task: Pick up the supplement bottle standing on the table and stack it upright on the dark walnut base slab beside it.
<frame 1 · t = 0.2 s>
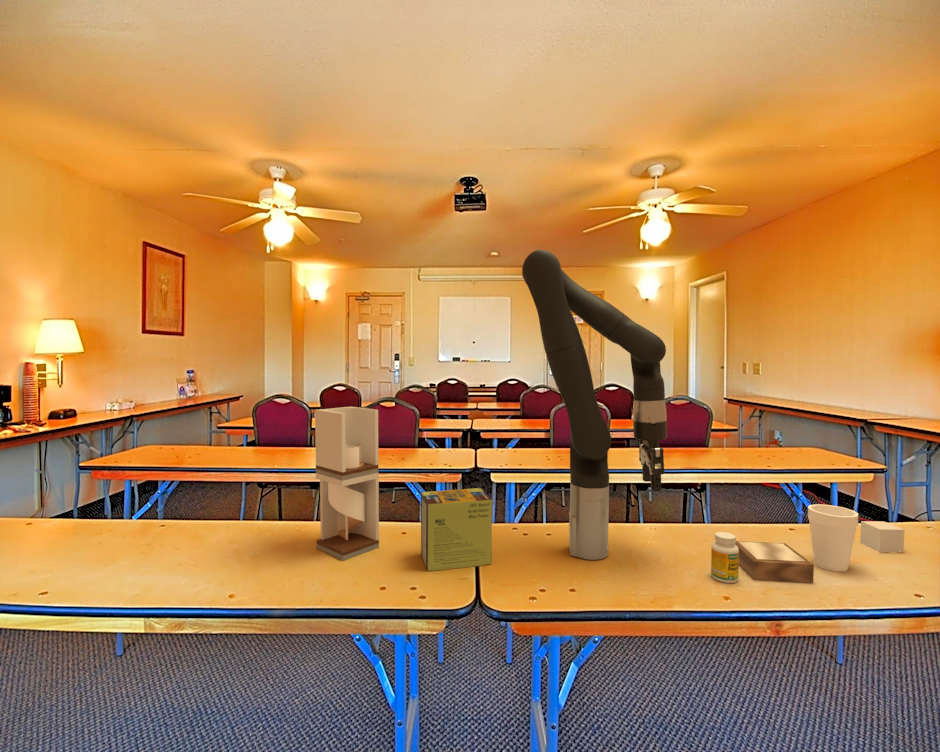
hand: (651, 485, 117), 17 cm above the table, tool pointing down, fingers open, 8 cm apart
protein box: (455, 560, 117), on the table
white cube: (881, 549, 124), on the table
foam cup: (830, 566, 114), on the table
beige cubby shelf tower: (347, 548, 123), on the table
base slab: (769, 569, 112), on the table
supplement bottle: (724, 579, 107), on the table
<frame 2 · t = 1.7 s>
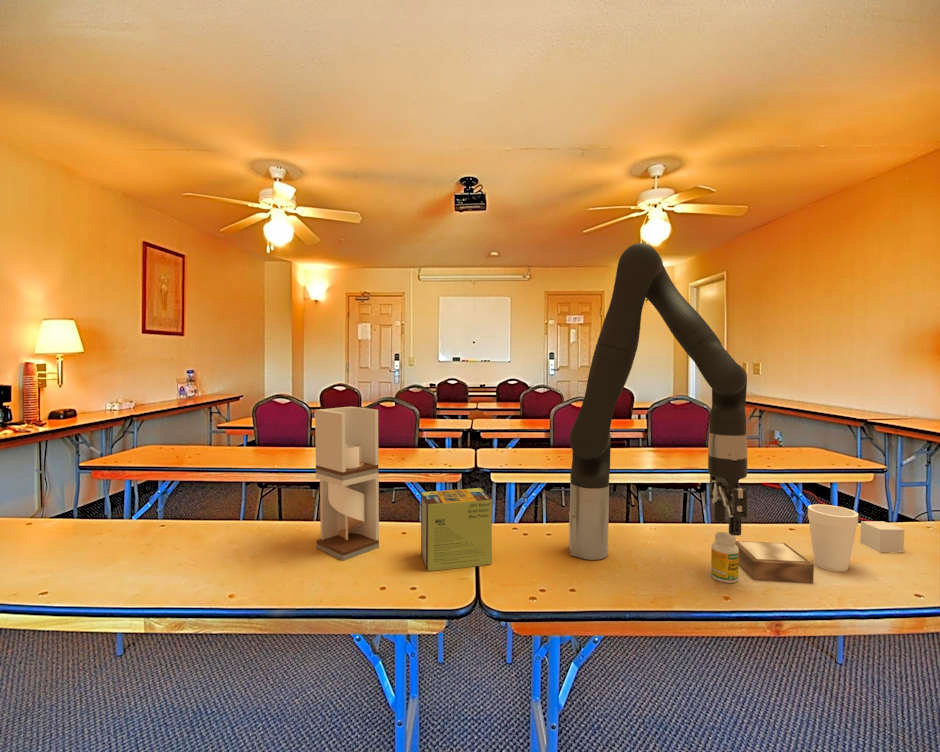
hand: (726, 527, 107), 11 cm above the table, tool pointing down, fingers open, 8 cm apart
nothing on the table moved.
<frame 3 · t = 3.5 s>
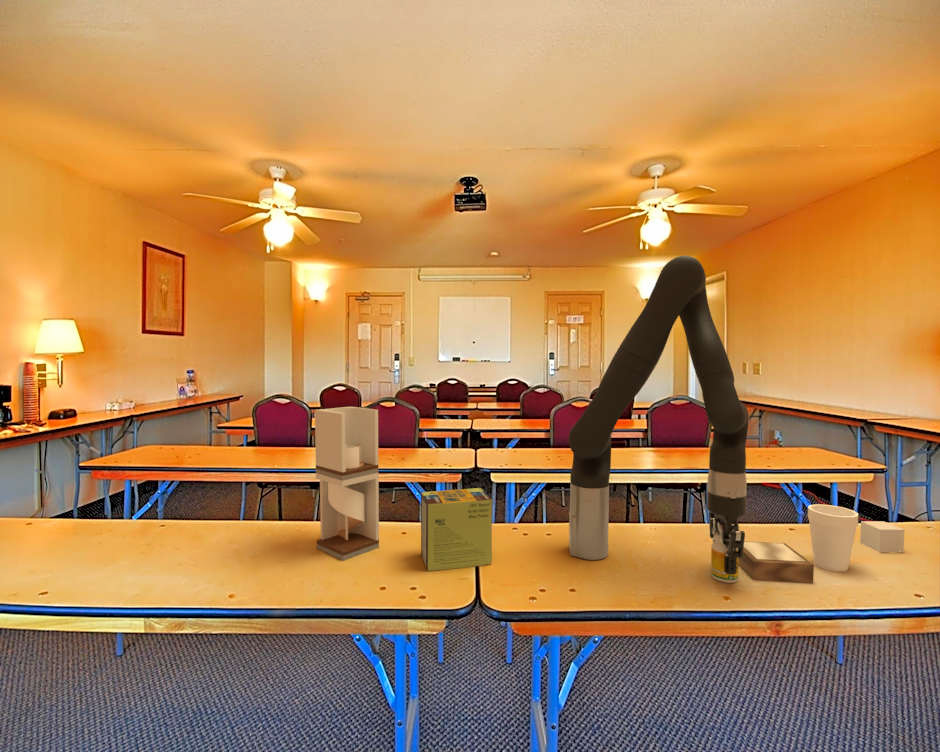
hand: (724, 566, 107), 2 cm above the table, tool pointing down, fingers closed on supplement bottle, 5 cm apart
supplement bottle: (724, 578, 107), on the table, touching gripper
everything else where it was.
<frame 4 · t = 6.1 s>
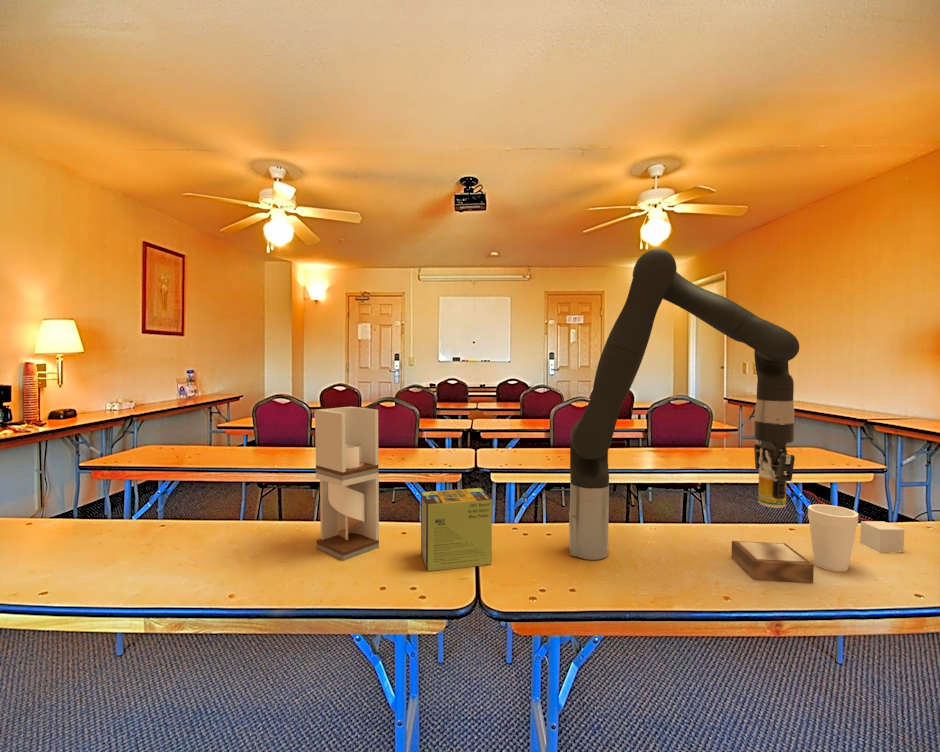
hand: (771, 493, 111), 17 cm above the table, tool pointing down, fingers closed on supplement bottle, 5 cm apart
supplement bottle: (771, 505, 111), point 15 cm above the table, touching gripper
everything else where it was.
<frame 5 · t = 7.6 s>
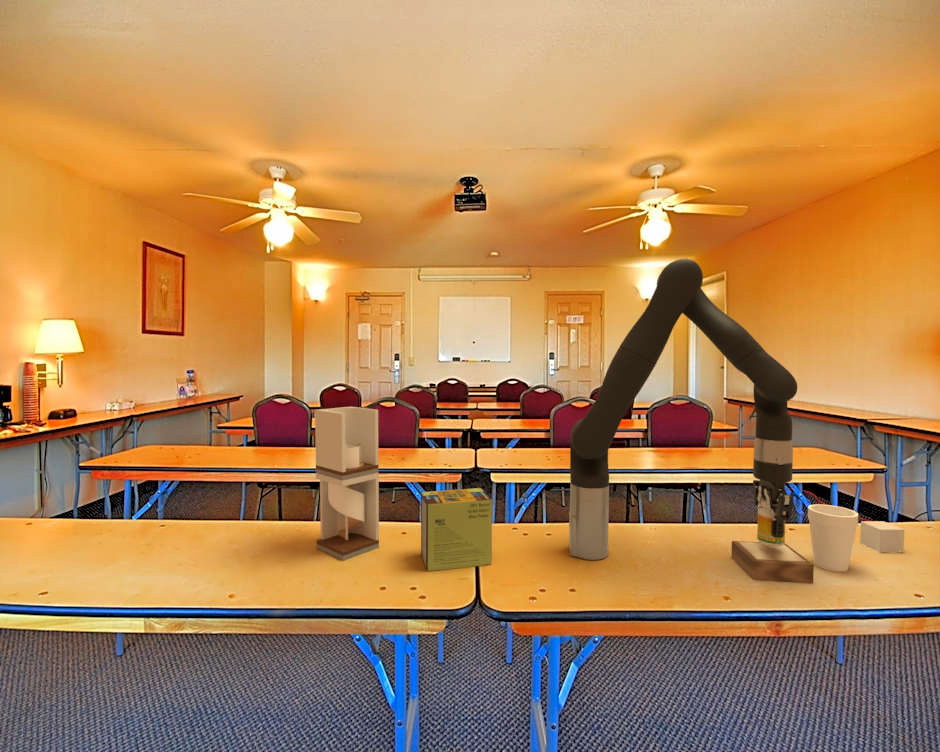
hand: (770, 531, 111), 9 cm above the table, tool pointing down, fingers closed on supplement bottle, 5 cm apart
supplement bottle: (770, 543, 111), point 6 cm above the table, touching gripper
everything else where it was.
when the fingers open (7 cm above the table, at t = 8.8 s): supplement bottle stays where it is, resting on base slab.
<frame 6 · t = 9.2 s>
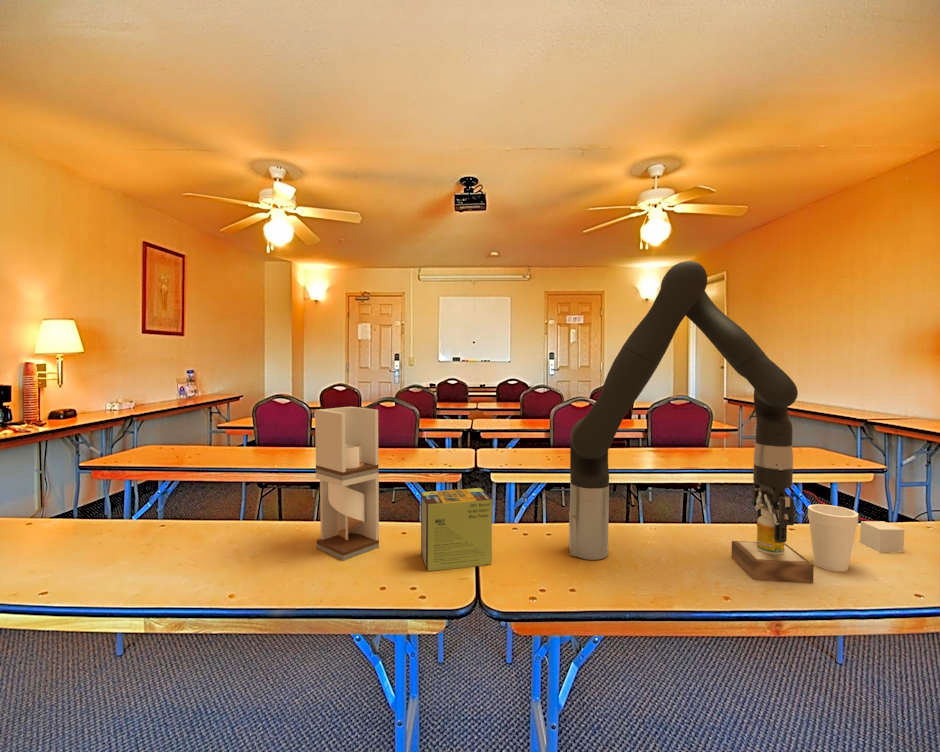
hand: (770, 534, 111), 8 cm above the table, tool pointing down, fingers open, 8 cm apart
supplement bottle: (770, 551, 111), point 4 cm above the table, touching base slab
everything else where it was.
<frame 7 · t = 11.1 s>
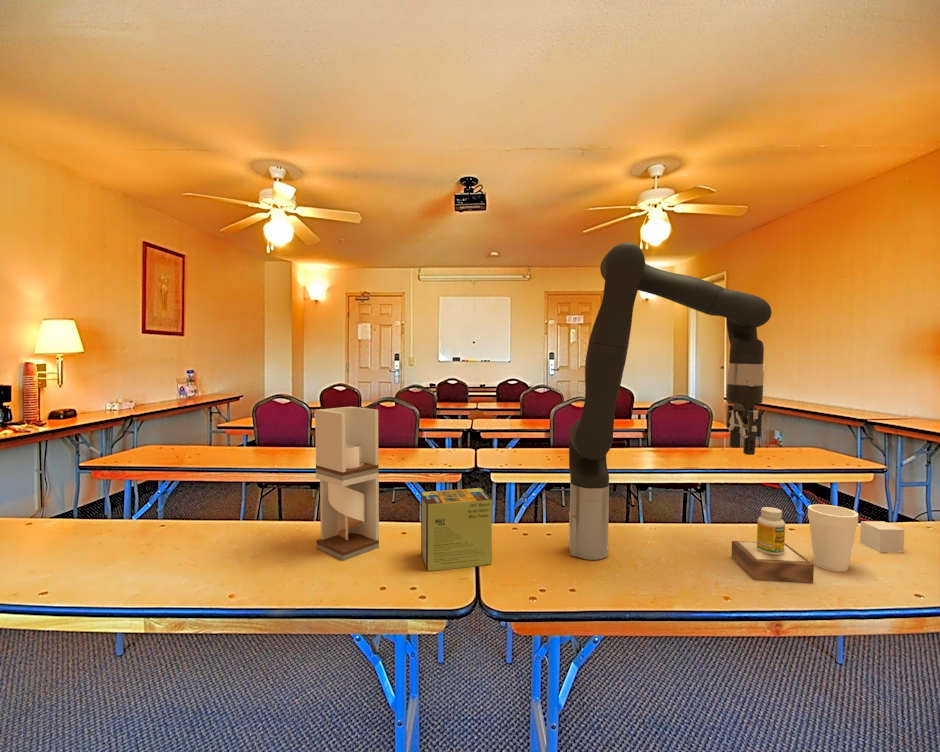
hand: (741, 450, 117), 26 cm above the table, tool pointing down, fingers open, 8 cm apart
nothing on the table moved.
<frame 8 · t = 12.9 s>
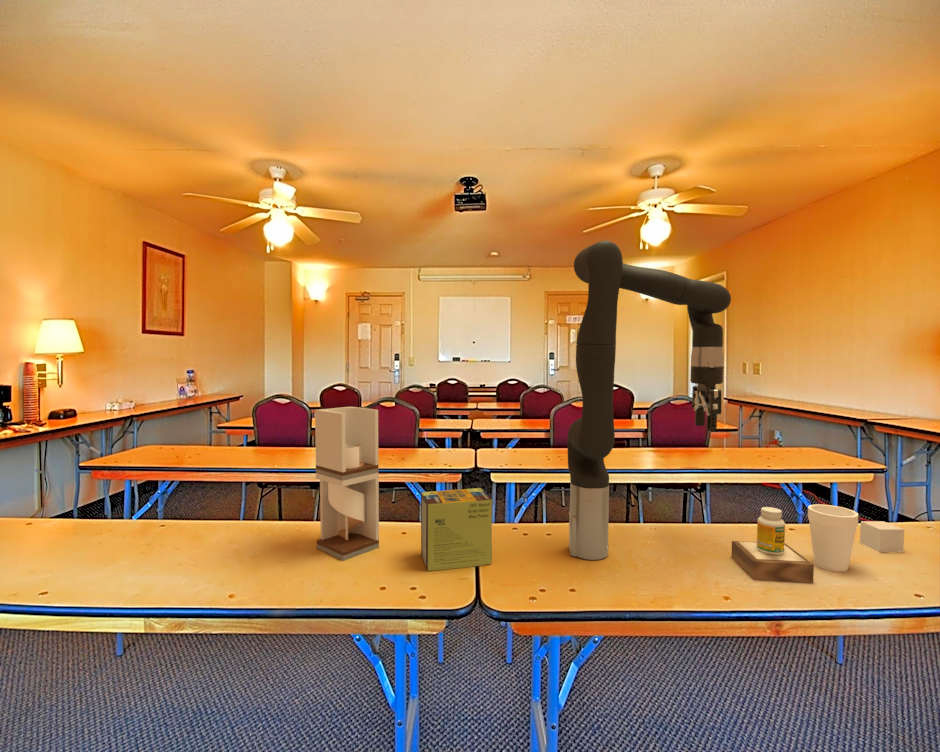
hand: (705, 428, 125), 30 cm above the table, tool pointing down, fingers open, 8 cm apart
nothing on the table moved.
at the end: supplement bottle inside the target area on the base slab (0.1 cm from its centre), point 4.1 cm above the base slab's base; supplement bottle tilted 0°; the gripper is holding nothing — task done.
